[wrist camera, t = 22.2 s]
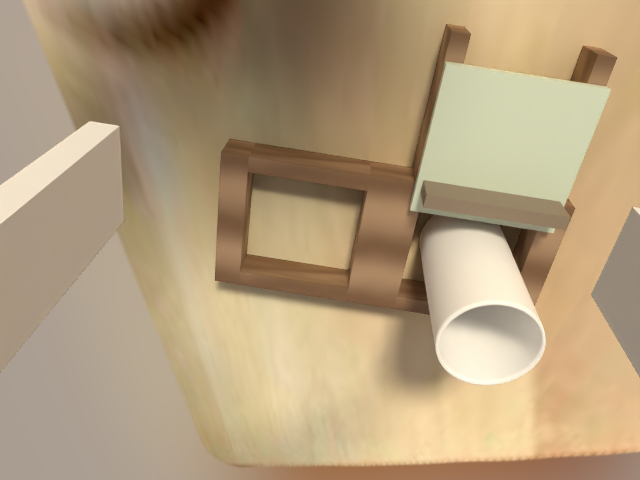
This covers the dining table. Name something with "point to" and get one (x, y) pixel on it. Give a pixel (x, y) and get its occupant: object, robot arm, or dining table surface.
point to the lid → (505, 146)
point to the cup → (478, 302)
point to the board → (365, 211)
